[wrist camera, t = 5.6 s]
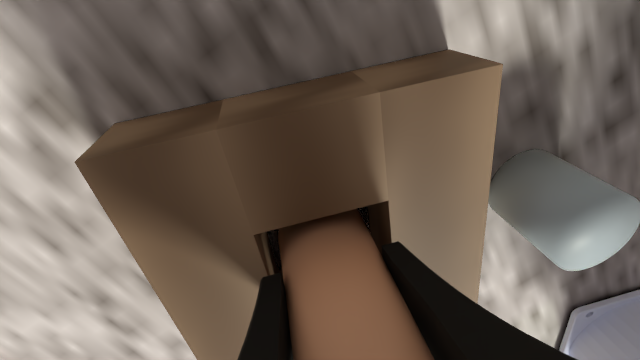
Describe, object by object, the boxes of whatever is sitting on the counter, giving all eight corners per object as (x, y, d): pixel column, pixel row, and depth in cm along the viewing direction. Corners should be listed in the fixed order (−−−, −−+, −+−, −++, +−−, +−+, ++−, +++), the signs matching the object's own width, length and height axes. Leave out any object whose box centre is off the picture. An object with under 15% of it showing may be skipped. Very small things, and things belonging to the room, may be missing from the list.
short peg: (563, 141, 15) (655, 183, 12) (549, 204, 17) (625, 257, 14) (490, 159, 15) (563, 208, 12) (484, 222, 17) (544, 280, 13)
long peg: (356, 185, 13) (475, 394, 6) (367, 252, 15) (468, 470, 8) (267, 210, 13) (289, 454, 6) (290, 274, 15) (326, 518, 8)
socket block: (448, 49, 12) (502, 63, 10) (442, 278, 18) (474, 325, 16) (114, 123, 11) (74, 161, 9) (225, 338, 17) (221, 399, 15)
